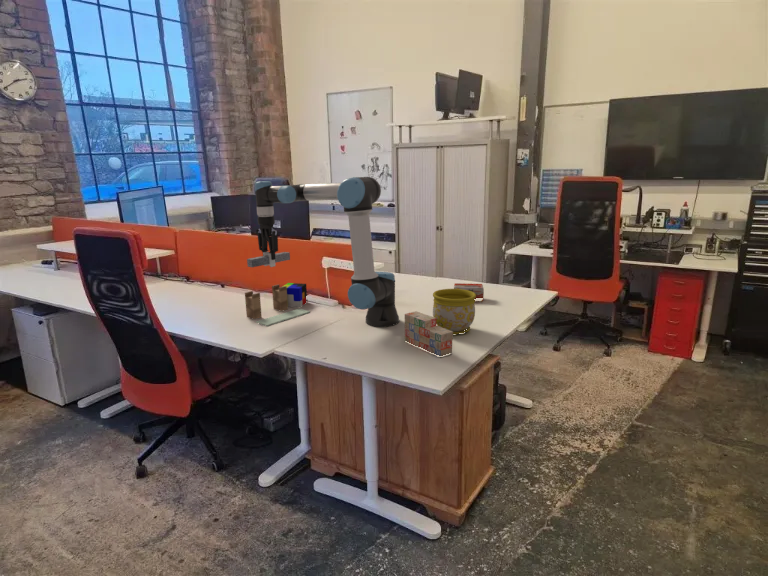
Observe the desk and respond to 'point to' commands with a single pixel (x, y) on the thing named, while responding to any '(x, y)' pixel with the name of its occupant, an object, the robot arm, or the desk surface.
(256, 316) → the stand
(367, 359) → the desk surface
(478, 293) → the medicine box
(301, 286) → the puzzle toy
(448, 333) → the stack of blocks
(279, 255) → the rail
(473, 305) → the flowerpot
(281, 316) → the mat
